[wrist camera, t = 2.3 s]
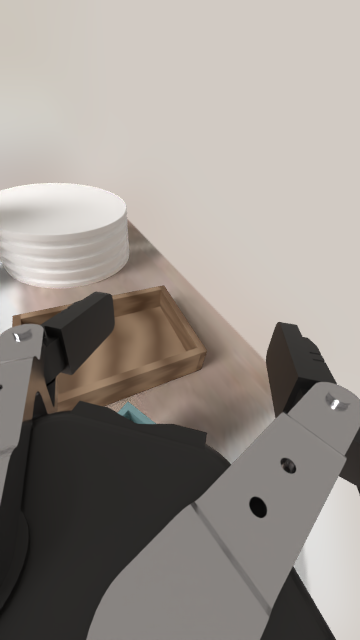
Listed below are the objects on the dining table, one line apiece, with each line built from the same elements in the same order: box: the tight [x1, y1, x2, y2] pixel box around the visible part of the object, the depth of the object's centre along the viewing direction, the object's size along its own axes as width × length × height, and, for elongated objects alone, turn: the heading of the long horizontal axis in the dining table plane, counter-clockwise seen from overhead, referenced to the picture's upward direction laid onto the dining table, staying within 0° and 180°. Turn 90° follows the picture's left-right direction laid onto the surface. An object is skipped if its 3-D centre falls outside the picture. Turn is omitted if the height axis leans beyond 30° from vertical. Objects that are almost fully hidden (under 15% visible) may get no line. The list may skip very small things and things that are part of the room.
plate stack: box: [0, 183, 129, 288], centre depth 50 cm, size 28×28×12 cm
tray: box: [12, 285, 207, 412], centre depth 34 cm, size 24×16×5 cm, turn 116°
